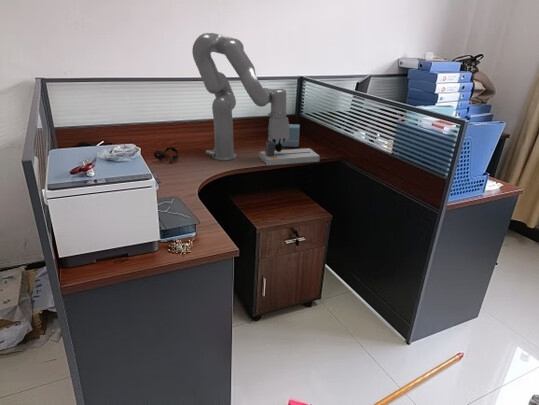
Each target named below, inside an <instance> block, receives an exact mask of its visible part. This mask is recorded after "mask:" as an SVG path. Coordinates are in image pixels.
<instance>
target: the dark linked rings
mask: <svg viewBox="0 0 539 405" xmlns="http://www.w3.org/2000/svg"><path fill="white" fill-rule="evenodd" d="M170 150H171V151H172V152H175V153H176V154H172V156H171V153H169V152H168V151H170ZM153 157H154V158H155V159H157V160H158V161H159V162H160V161H162V159H169V161H168V164H173V162H175V161H178V159H179V150H178V149H177V148H175V147H173V146H166V147H164V148H163V149H162V150H155V151H154V153H153Z"/></svg>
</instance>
